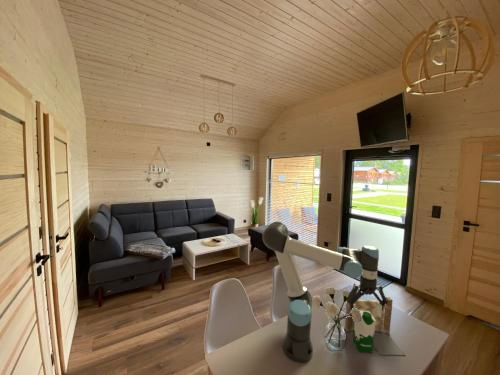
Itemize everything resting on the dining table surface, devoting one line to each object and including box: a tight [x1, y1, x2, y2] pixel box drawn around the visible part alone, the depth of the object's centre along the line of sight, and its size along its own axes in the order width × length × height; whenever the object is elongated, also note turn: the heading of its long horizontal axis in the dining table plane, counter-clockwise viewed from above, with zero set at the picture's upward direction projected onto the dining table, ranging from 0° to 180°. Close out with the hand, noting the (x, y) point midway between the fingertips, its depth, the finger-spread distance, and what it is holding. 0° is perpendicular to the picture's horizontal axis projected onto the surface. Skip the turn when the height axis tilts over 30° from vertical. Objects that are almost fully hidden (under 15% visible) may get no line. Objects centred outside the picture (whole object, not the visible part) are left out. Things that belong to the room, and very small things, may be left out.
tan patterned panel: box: [344, 296, 393, 334], centre depth 124 cm, size 24×4×20 cm, turn 90°
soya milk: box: [352, 310, 376, 354], centre depth 112 cm, size 9×9×20 cm
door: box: [351, 299, 385, 332], centre depth 123 cm, size 18×3×18 cm, turn 90°
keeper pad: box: [373, 333, 406, 357], centre depth 115 cm, size 13×13×1 cm
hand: (365, 315), depth 111 cm, fingers open, 13 cm apart
